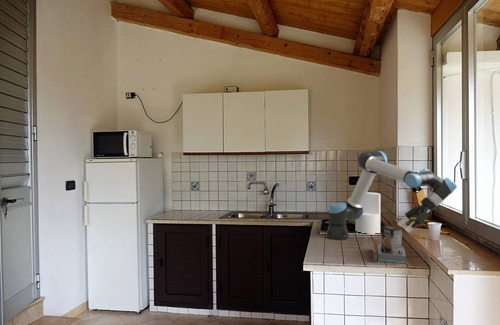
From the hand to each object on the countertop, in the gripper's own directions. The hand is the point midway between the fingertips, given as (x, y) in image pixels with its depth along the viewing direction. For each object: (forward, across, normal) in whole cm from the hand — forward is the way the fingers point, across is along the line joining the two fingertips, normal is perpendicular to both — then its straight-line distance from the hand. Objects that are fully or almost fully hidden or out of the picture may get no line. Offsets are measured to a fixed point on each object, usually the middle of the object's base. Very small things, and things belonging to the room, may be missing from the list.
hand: (402, 228), depth 195 cm
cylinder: (+16, +61, -8) cm, 64 cm away
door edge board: (+22, +3, -2) cm, 22 cm away
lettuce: (+15, +87, -10) cm, 89 cm away
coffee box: (+15, +1, -7) cm, 17 cm away
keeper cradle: (+16, +1, -8) cm, 18 cm away
